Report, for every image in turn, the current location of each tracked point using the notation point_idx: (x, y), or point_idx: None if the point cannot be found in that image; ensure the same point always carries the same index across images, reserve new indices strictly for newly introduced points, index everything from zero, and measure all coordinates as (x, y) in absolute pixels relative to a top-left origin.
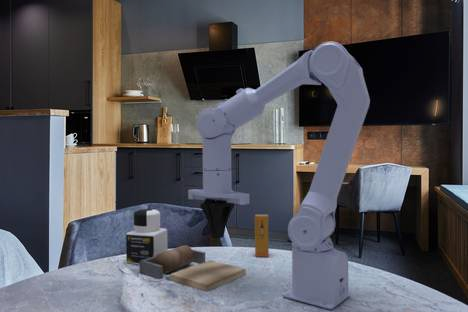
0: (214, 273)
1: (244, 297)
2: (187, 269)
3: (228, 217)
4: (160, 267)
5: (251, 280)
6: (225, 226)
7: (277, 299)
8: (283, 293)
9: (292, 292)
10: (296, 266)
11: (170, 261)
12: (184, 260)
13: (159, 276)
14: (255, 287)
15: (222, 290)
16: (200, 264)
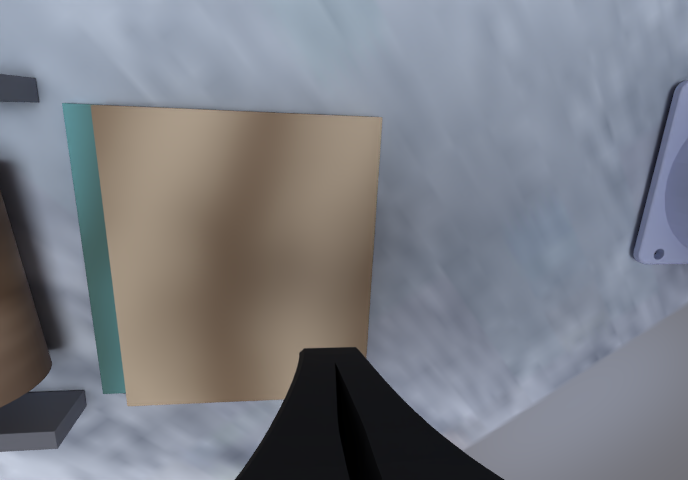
0: (291, 275)
1: (508, 337)
2: (132, 313)
3: (461, 452)
4: (59, 441)
5: (443, 171)
6: (393, 393)
7: (618, 282)
8: (641, 255)
9: (670, 227)
10: None
11: (27, 379)
12: (11, 256)
13: (78, 413)
14: (499, 233)
15: (402, 336)
16: (114, 209)
